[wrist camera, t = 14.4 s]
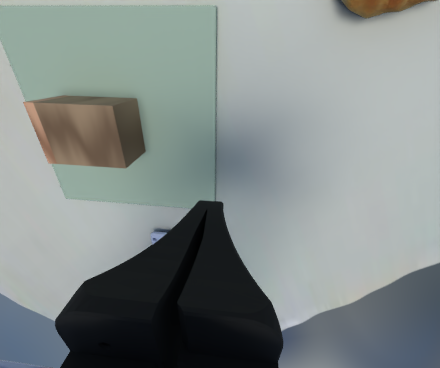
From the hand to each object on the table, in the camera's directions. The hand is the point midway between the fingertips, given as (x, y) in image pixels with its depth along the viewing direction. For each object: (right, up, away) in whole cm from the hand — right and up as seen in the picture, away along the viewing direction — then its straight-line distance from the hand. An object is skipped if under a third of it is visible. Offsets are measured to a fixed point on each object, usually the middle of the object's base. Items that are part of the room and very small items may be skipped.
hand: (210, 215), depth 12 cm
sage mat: (-9, +8, +9) cm, 15 cm away
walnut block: (-7, +6, +6) cm, 11 cm away
